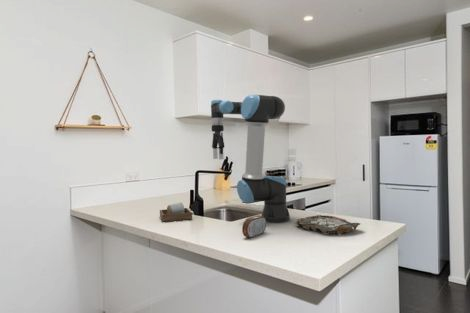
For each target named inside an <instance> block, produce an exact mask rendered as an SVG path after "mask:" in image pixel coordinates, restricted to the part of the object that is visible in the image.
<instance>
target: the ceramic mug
mask: <svg viewBox="0 0 470 313" xmlns="http://www.w3.org/2000/svg"><path fill="white" fill-rule="evenodd" d="M184 208H185V205H184V204H183V202H177V203H171V204H168V205H167V207H166V209H167V214H179V213H185V210H184Z"/></svg>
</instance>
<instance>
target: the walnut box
mask: <svg viewBox="0 0 470 313" xmlns="http://www.w3.org/2000/svg"><path fill="white" fill-rule="evenodd" d="M184 210H185V213H179V214H167V208H166V209H159V217H160V220H161V222H162V223H163V222H165V223H174V221H176V222H184V221H183V220H188V221H193V212H192V211H191V210H190V209H189V208H187V207H184Z"/></svg>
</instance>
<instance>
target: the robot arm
mask: <svg viewBox="0 0 470 313" xmlns="http://www.w3.org/2000/svg"><path fill="white" fill-rule="evenodd" d="M285 109H286V105H285V102H284V100H283V99H282V98H280V97H279V96H275V95H263V94H262V95H261V94H248V95H247V96H245V97H244V99H243V101H231V100H228V99H227V100H222V99H212V100H211V104H210V112H211V114H210V116H211V118H210V120H211V121H210V122H211V132H212V142H211V143H212V144H211V148H212V156H213V157H212V158H213V160H224V148H225V141H224V134H223V132H224V130H225V128H224V121H225V120H224V115H241V117H242V118H243V119H245V120H244V123H245V124H246V125H247V133H246V136H247V137H246V152H245V153H246V154H245V155H246V156H245V172H244V173H243V174H242V175H241V179H240V180H238V182H237V183H236V191H237V194H238V197H239V199H240V200H241V201H242V202H243V203H246V204H247V203H249V204H250V203H251V204H252V203H258V202H259V203H260V202H264V203H263V204H264V205H263V208H262V211H261V215H260V216H263V217H265V219H266V221H269V222H268V223H285V222H289V221H290V220H291V215H290V212H289V209H288V207H287V180H286V178H285V177H282V176H274V175H264V174H263V168H264V167H263V164H264V150H265V136H266V134H265V133H266V126H267V125H268V124H269V121H270V120H276V119H279V118H281V117H282V116H283V115H284V113H285V111H286V110H285ZM288 220H289V221H288ZM284 221H285V222H284Z"/></svg>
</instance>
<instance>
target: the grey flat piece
mask: <svg viewBox="0 0 470 313" xmlns="http://www.w3.org/2000/svg"><path fill="white" fill-rule="evenodd" d="M294 224H295V225H297V226H298V227H300V226H302V227H303V228H302V229H304V228H305V230H309V229H310V230H313V231H314V232H320V231H319V230H321V233H322V234H324V233H326V234H325V235H327V233H328V234H336V233H337V234H340V235H343V234H344V233H346V232H347V233H351V232H352V231H353V230H354V231H355V230H356V229H357V228H358V227H359V225H362V224H361V223H360V222H350V221H348V220H346V219H343V218H341V217H337V216H333V215H331V216H330V215H321V214H317V215H311V216H306V217H300V218H298V219H296V222H294ZM311 228H312V229H311ZM347 233H346V234H347ZM337 234H336V235H337Z"/></svg>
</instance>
